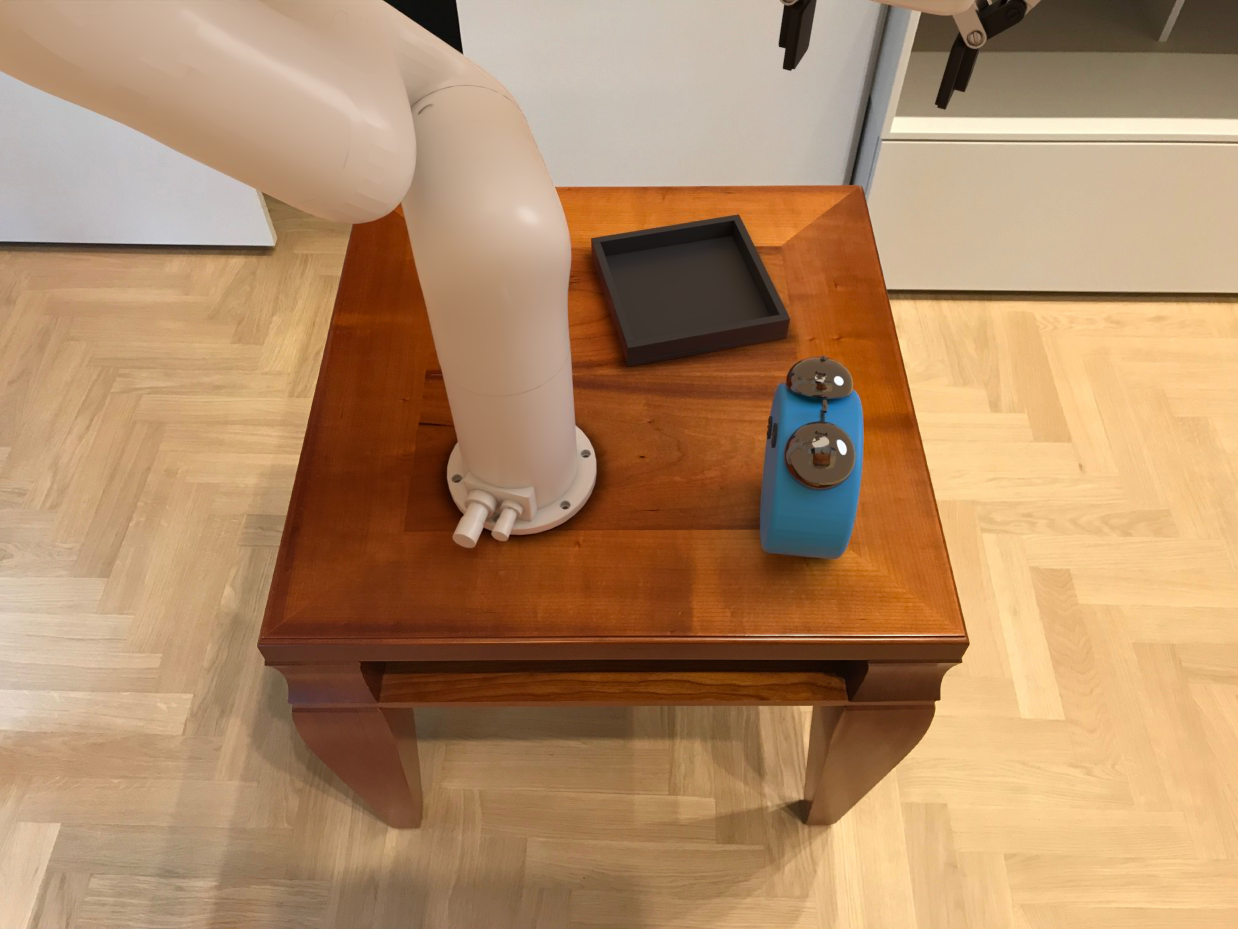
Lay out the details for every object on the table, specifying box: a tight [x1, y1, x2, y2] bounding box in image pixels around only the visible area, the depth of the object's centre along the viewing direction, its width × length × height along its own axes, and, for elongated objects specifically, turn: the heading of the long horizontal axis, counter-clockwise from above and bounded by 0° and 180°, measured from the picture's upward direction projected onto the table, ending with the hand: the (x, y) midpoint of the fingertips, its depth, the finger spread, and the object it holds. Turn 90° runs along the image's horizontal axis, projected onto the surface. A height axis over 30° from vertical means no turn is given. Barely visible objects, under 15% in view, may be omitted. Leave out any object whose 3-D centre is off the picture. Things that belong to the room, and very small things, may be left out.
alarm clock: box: [759, 354, 865, 560], centre depth 72 cm, size 13×6×15 cm, turn 173°
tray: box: [590, 213, 791, 368], centre depth 92 cm, size 16×16×3 cm
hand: (868, 78), depth 59 cm, fingers open, 9 cm apart
